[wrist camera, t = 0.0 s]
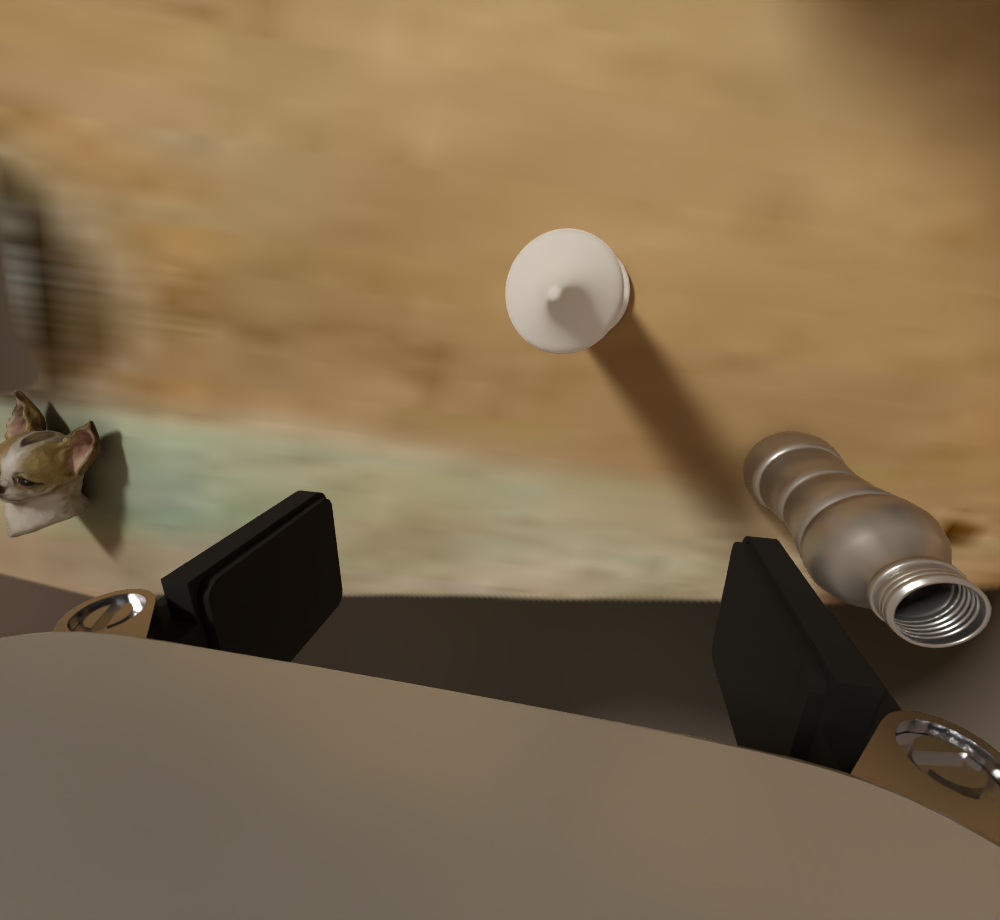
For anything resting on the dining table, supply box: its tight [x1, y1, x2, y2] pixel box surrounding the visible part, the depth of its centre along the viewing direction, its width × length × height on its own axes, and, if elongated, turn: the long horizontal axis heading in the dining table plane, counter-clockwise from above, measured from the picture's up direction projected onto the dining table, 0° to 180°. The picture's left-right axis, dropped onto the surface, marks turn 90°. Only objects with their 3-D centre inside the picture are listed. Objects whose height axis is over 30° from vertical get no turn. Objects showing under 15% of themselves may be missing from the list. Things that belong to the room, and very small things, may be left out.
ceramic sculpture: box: [0, 390, 101, 537], centre depth 51 cm, size 11×9×15 cm
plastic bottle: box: [743, 431, 991, 648], centre depth 29 cm, size 6×7×20 cm
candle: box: [505, 228, 630, 354], centre depth 26 cm, size 7×7×25 cm
